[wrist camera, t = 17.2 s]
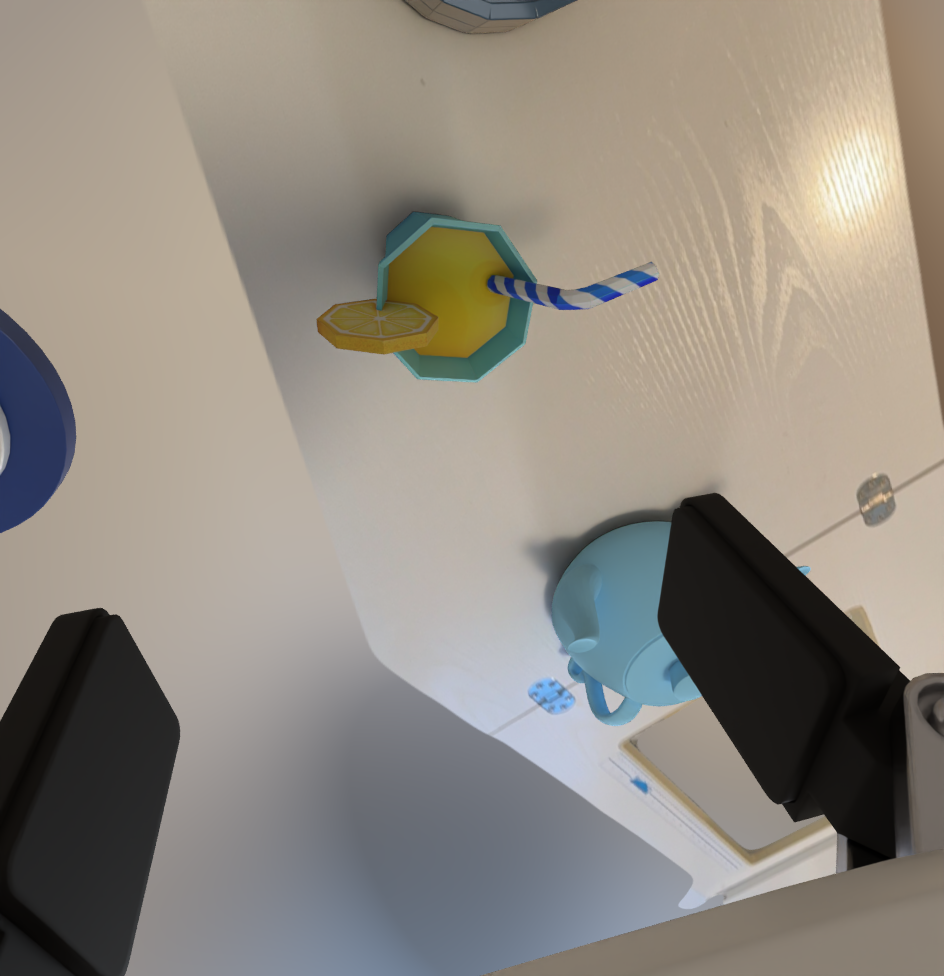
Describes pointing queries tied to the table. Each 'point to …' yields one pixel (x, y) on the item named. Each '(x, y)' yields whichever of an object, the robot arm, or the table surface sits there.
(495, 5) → the round ribbed tray
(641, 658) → the teapot
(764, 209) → the table surface
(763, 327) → the table surface
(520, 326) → the cup
